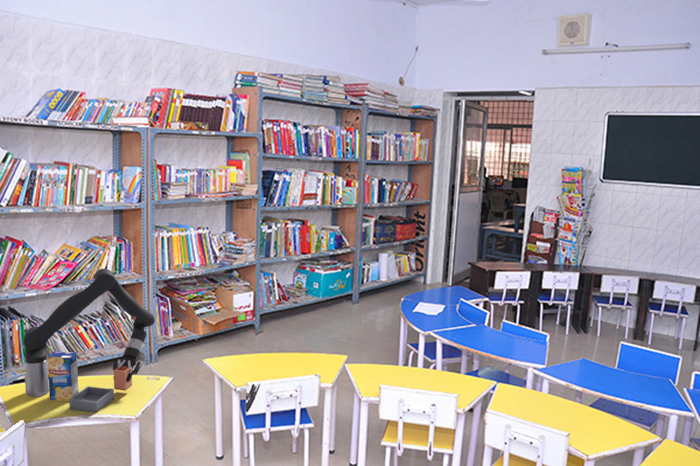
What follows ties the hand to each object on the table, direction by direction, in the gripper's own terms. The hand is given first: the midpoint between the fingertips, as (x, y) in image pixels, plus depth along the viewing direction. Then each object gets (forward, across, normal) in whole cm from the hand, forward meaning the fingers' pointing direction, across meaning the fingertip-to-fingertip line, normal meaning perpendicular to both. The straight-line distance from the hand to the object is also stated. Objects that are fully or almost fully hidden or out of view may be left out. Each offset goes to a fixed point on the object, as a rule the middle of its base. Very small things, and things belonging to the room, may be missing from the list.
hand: (121, 380), depth 281 cm
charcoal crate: (+14, -8, -3) cm, 16 cm away
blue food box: (+12, -25, -1) cm, 28 cm away
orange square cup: (+2, 0, +4) cm, 5 cm away
